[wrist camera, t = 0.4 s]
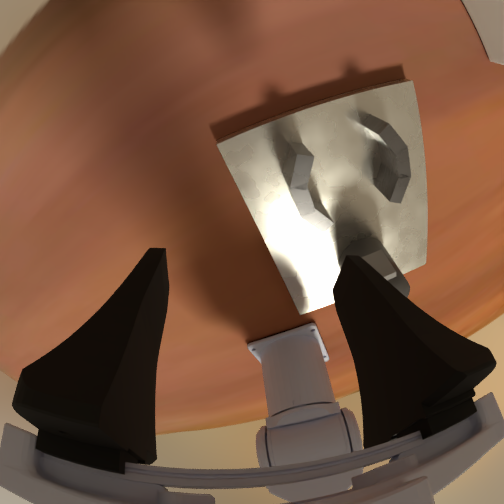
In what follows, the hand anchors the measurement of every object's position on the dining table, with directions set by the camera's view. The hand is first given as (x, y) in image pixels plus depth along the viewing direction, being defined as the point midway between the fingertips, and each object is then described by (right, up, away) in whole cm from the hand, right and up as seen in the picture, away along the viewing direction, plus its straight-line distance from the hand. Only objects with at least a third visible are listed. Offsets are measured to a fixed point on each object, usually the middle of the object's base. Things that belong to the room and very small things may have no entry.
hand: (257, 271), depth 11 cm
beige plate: (+7, +4, +10) cm, 13 cm away
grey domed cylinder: (+9, 0, +12) cm, 15 cm away
